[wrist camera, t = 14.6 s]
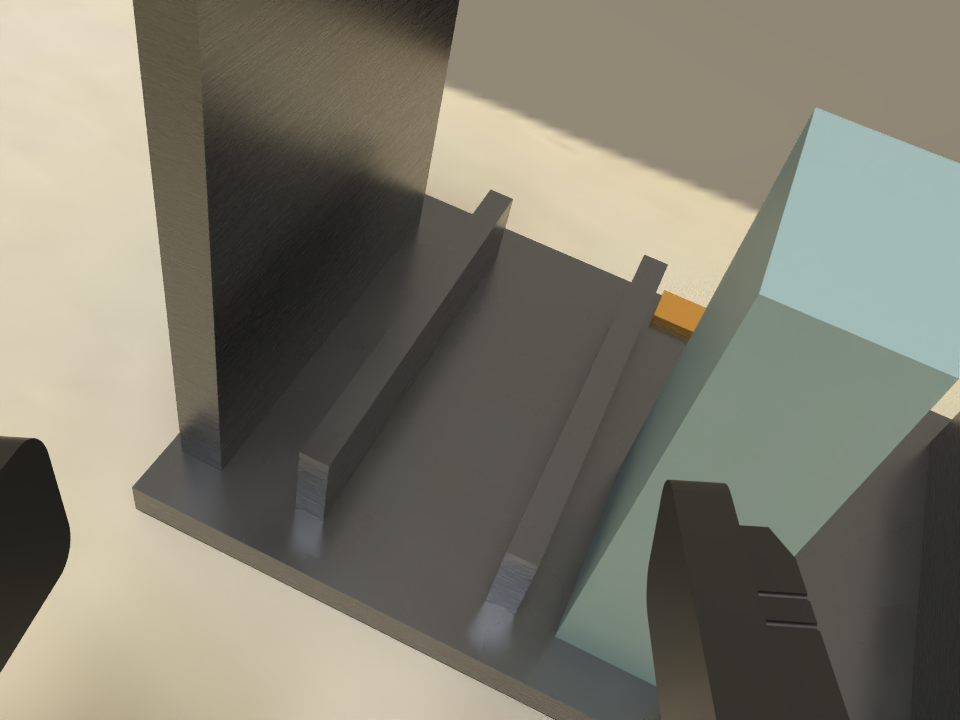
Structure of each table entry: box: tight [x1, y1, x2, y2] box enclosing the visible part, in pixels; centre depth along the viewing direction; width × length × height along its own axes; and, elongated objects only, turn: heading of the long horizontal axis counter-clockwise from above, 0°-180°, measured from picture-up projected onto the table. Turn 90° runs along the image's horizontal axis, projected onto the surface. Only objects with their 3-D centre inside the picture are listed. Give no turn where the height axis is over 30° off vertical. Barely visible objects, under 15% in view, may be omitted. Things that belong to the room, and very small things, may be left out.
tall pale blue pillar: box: [555, 108, 960, 687], centre depth 19 cm, size 3×6×12 cm, turn 157°
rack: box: [132, 0, 960, 720], centre depth 21 cm, size 30×15×15 cm, turn 67°
